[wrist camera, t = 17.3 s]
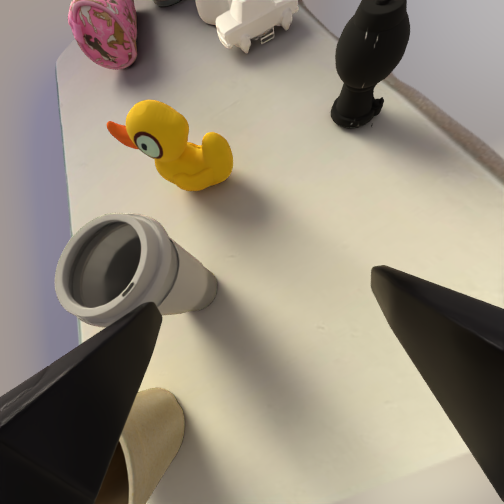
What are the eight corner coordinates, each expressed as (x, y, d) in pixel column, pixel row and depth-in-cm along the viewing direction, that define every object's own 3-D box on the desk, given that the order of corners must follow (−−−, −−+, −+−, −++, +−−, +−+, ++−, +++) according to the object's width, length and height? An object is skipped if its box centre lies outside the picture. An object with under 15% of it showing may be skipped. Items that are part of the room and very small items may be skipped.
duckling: (155, 198, 28) (83, 137, 18) (165, 164, 29) (103, 91, 20) (237, 198, 25) (202, 126, 16) (243, 160, 26) (214, 75, 17)
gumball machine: (375, 139, 24) (428, 22, 14) (321, 137, 25) (337, 31, 16) (381, 95, 25) (431, -36, 16) (329, 95, 27) (348, -23, 17)
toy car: (301, 27, 32) (302, -45, 25) (231, 65, 32) (215, 4, 26) (284, 10, 34) (281, -61, 27) (218, 46, 35) (201, -15, 28)
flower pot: (187, 353, 21) (118, 376, 13) (216, 468, 17) (148, 598, 9) (106, 388, 21) (-9, 432, 13) (120, 506, 18) (-23, 659, 10)
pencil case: (103, 22, 45) (60, -44, 37) (141, 3, 44) (105, -69, 36) (104, 83, 38) (51, 19, 30) (149, 63, 37) (107, -10, 29)
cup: (198, 336, 21) (86, 359, 10) (157, 297, 23) (27, 279, 12) (240, 279, 22) (181, 240, 11) (196, 246, 24) (109, 186, 13)
